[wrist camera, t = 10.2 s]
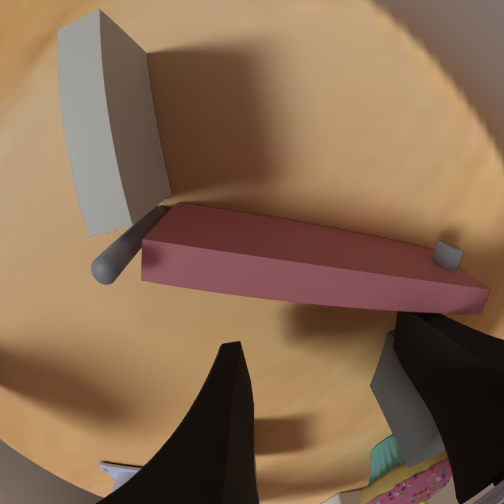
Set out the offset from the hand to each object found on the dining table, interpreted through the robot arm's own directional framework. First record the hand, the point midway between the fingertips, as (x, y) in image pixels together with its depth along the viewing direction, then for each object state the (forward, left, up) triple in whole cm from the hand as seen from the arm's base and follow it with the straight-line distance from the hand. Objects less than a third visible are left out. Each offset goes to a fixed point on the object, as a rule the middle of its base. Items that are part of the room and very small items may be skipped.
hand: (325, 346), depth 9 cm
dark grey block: (-5, -6, -2) cm, 8 cm away
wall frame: (-1, +5, -2) cm, 6 cm away
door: (+3, -1, -2) cm, 4 cm away
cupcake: (-17, -7, -3) cm, 19 cm away
